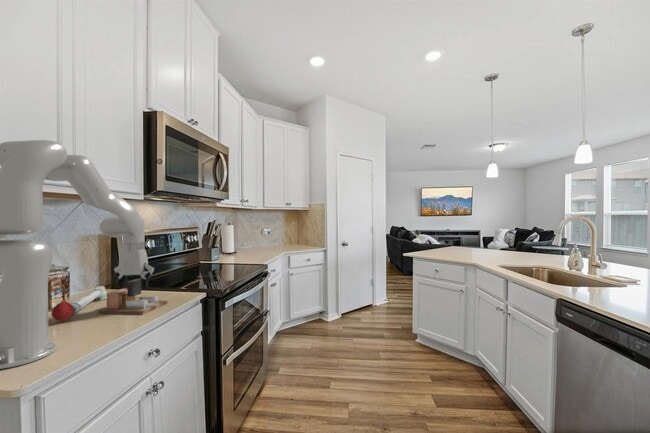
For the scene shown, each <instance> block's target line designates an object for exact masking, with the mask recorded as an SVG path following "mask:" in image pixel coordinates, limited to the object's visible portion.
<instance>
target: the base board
mask: <svg viewBox="0 0 650 433" xmlns="http://www.w3.org/2000/svg"><path fill="white" fill-rule="evenodd" d="M167 304H168V300H162V299H161V300H160V299H158V303H156V304H154V305H152V306H149V307H147V308H145V309H134V308H126V305H125V306H122V307H120V308H107V307H104V308H102V309H99V310H98V314H107V315H108V314H110V315H115V314H116V315H145V314H147V313H149V312H152V311H154V310H156V309H158V308H161V307H163V306H166V305H167Z"/></svg>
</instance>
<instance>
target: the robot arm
mask: <svg viewBox="0 0 650 433" xmlns="http://www.w3.org/2000/svg"><path fill="white" fill-rule="evenodd" d="M45 181H51V182H68V183H69V185H70V186H71V188H73V189H74V191H75V192H76V194H77V195H78V197H80V198H81V200H82V202H83V203H85V204H86V205H88V206H90V207H92V208H96V209H99V210H100V209H101V210H103V211H105V212H109V213H111V214H112V215H115V216H113V217H112V216H111V217H107V218H104V219H102V221H101V222H100V223H99V225H98V226H99V228H98V229H99V231H100V232H101V233H102V234H103V235H104V236H107V237H122V244H121V246H120V247H121V248H122V250H121V251H120V253H119V258H118V266H116V267H114V269H113V270H114V272H115V275H116V277H117V278H118V280H119V289H123V288H127V282H128V281H129V279H128V276H139V277H141V290H144V289H145V290H146V289H148V288H149V286H150V285H149V284H150V282H149V279H150V278H151V276H152V275H153V273H154V270H155V267H153V266H152V265H149V259H148V253H147V250H146V248H145V247H146V246H145V243H146V242H145V220H144V218H142V217H141V216H140V214H139V212H138V211H137V209H136V208H135V207H134V206H133V205H132V204H131V203H130V202H128V201H127V200H125V199H124V198H122V197H121V196H119V195H118V194H117V193H116V194H115V193H114V192H113V191H111V189H110V188H109V187H108V184H107V182H105V180H104V178H103V176H101V174H100V172H99V171H98V170H97V168H96V167H95V165H94V163H93V161H91V159H89V158H88V157H86V156H83V155H79V154H68V151H67V149H66V148H65V146H64V145H63V144H62V143H60V142H57V141H53V140H46V139H35V140H34V139H33V140H31V139H30V140H13V141H12V140H11V141H4V142H1V143H0V276H2V277H1V280H0V370H1V369H3V370H4V369H8V368H9V369H10V368H13V367H17V366H22V365H26V364H29V363H32V362H35V361H38V360H40V359H43V358H45V357H47V356H49V355H50V354H52V353H54V352H55V351H56V349H57V344H56V343H55V342H50V341H49V277H50V271H51V266H52V262H53V251H52V249H51V248H50V246H49V245H48V244H46V243H44V242H43V241H40V240H34V239H11V236H16V235H17V236H18V235H19V236H20V235H29V234H33V233H36V232H37V231H39V230H40V229H41V228H42V227H43V225H44V200H43V197H44V196H43V190H44V189H43V187H44V183H45Z"/></svg>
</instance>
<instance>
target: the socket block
mask: <svg viewBox="0 0 650 433" xmlns="http://www.w3.org/2000/svg"><path fill="white" fill-rule="evenodd" d="M124 294H127V287H126V288H123V289H120V288H119V289H117V290H113V291H109V292H108V293H107V299H106V308H120V307H122V306H125V305H126V303H122V295H124Z"/></svg>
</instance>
